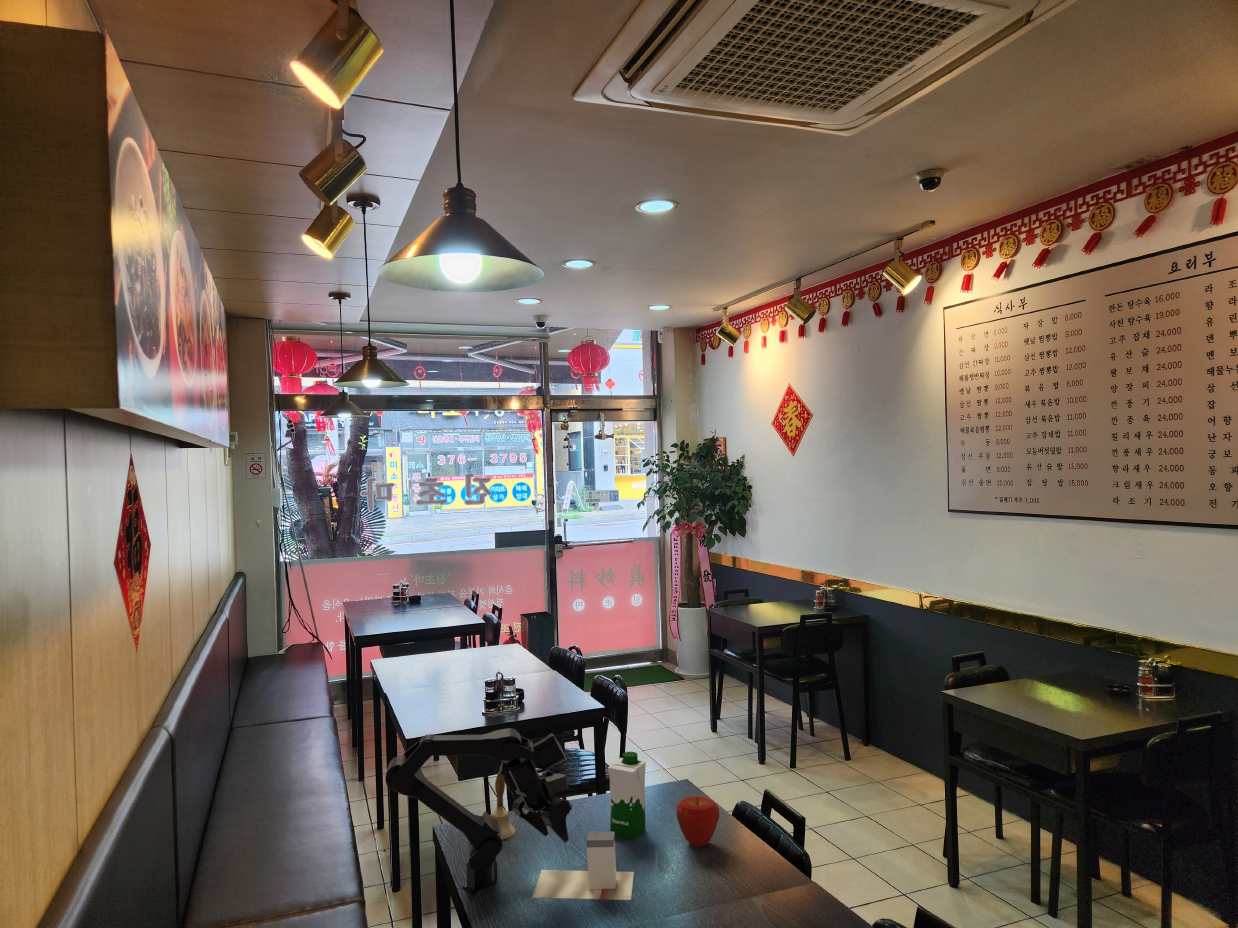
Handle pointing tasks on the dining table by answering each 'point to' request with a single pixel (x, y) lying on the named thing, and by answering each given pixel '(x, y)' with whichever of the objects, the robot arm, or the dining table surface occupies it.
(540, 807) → the robot arm
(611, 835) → the white slab
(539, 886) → the board
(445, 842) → the dining table surface
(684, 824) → the apple
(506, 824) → the hand bell
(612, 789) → the milk carton
